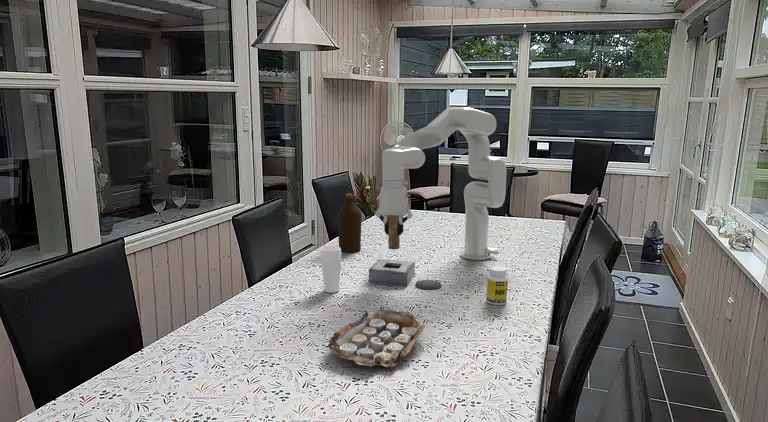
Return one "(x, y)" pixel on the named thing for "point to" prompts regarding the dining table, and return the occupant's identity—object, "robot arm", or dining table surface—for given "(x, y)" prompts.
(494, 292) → the supplement bottle
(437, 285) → the coaster
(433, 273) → the dining table surface
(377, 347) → the baking tray
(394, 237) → the tan wooden rod
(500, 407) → the dining table surface
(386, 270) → the grey square holed block
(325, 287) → the drinking glass
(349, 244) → the olive oil
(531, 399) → the dining table surface
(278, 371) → the dining table surface
